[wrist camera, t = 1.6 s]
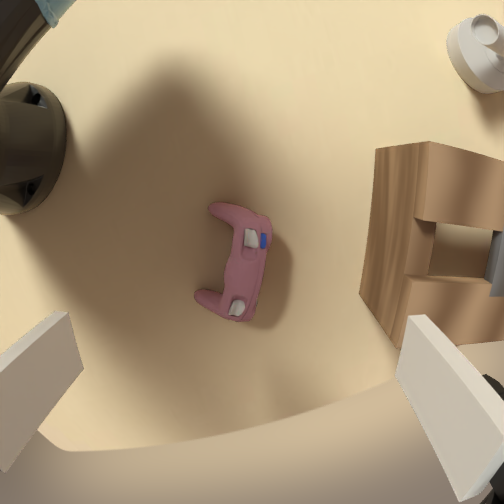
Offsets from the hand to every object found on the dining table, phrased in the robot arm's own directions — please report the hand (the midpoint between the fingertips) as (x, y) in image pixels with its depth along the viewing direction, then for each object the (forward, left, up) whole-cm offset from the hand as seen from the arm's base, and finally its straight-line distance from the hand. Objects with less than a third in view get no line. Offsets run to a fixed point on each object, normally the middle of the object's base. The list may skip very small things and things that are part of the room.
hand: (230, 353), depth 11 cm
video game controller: (-2, -2, -19) cm, 19 cm away
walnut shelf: (+20, +2, -19) cm, 27 cm away
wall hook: (+23, +22, -19) cm, 37 cm away
